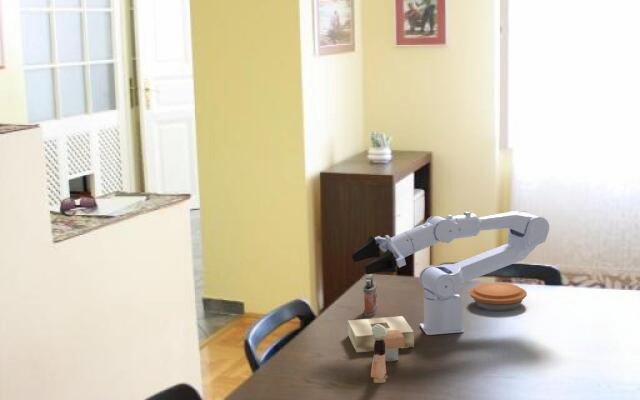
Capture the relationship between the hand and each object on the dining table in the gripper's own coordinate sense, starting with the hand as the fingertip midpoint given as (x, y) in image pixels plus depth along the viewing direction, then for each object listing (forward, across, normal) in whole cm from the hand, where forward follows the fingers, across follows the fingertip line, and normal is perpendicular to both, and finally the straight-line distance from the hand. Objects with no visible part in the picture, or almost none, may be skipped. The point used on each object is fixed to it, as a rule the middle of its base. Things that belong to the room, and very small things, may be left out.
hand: (358, 264), depth 217 cm
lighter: (-4, -16, +25) cm, 30 cm away
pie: (-37, -6, +33) cm, 50 cm away
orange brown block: (+3, +17, +17) cm, 24 cm away
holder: (+1, +6, +19) cm, 20 cm away
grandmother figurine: (+10, +28, +13) cm, 32 cm away
